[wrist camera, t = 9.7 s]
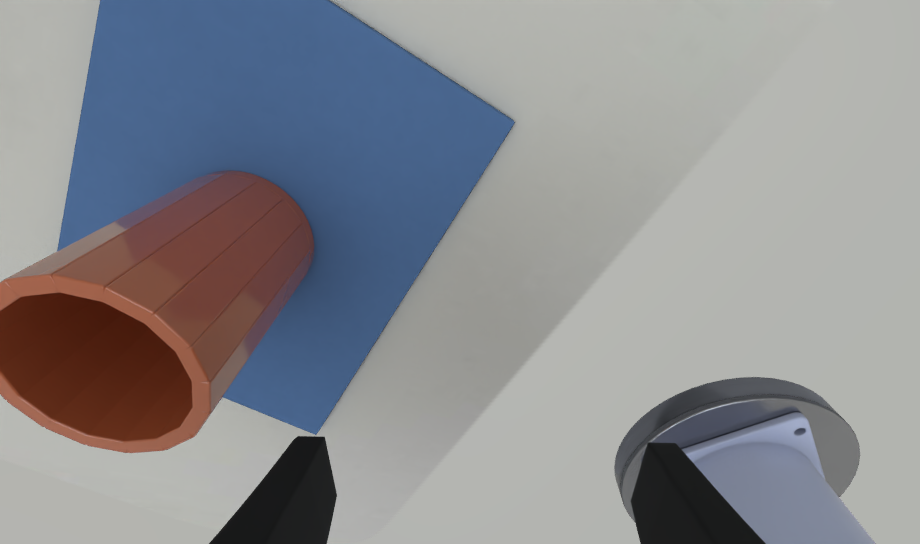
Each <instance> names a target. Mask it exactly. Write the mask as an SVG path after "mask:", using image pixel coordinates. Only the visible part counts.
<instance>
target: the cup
mask: <svg viewBox="0 0 920 544" xmlns="http://www.w3.org/2000/svg"><path fill="white" fill-rule="evenodd" d="M313 256H314V239H313V234H312V230H311V227H310V225H309V222H308V220H307V218H306V216H305V214H304V213H303V211H302V210H301V208H300V207H299V205H298V204H297V203H296V202H295V201H294V200H293V199H292V197H290V196H289V195H288V194H287V193H286V192H285V191H284V190H282V189H281V188H280V187H278V186H277V185H275V184H273V183H272V182H270V181H268V180H266V179H264V178H262V177H260V176H257V175H254V174H250V173H246V172H241V171H231V170H227V171H217V172H212V173H209V174H206V175H204V176H202V177H198V178H196V179H194V180H192V181H190V182H188V183H186V184H184V185H182V186H181V187H179V188H177V189H175V190H173V191H171V192H169V193H167V194H165V195H163V196H162V197H160V198H158V199H156V200H154V201H152V202H150V203H148V204H146V205H145V206H143V207H141V208H139V209H137V210H135V211H133V212H131V213H129V214H127V215H126V216H124V217H122V218H120V219H118V220H116V221H114V222H112V223H110V224H109V225H107V226H105V227H103V228H101V229H99V230H97V231H95V232H93V233H91V234H90V235H88V236H86V237H84V238H82V239H80V240H78V241H76V242H74V243H73V244H71V245H69V246H67V247H65V248H63V249H61V250H59V251H57V252H55V253H54V254H52V255H50V256H48V257H46V258H44V259H42V260H40V261H38V262H37V263H35V264H33V265H31V266H29V267H27V268H25V269H23V270H21V271H20V272H18V273H16V274H14V275H12V276H10V277H8V278H6V279H4V280H3V281H1V282H0V394H1V395H2V397H3V398H4V399H5V400H7V402H8V403H10V404H11V405H12V406H14V407H15V408H17V409H18V410H20V411H21V412H22V413H24V414H25V415H27V416H28V417H29V418H31V419H32V420H34V421H35V422H36V423H38V424H39V425H41V426H42V427H45V428H46V429H48V430H51V431H53V432H55V433H58V434H60V435H63V436H65V437H67V438H70V439H72V440H74V441H77V442H79V443H81V444H84V445H88V446H91V447H97V448H102V449H108V450H113V451H118V452H124V453H139V452H152V451H164V450H168V449H170V448H172V447H174V446H176V445H178V444H180V443H182V442H185V441H187V440H189V439H191V438H193V437H194V436H195V435H197V433H198V432H199V430H200V429H201V427H202V426H203V424H204V423H205V422H206V420H207V419H208V417H209V416H210V414H211V413H212V411H213V410H214V408H215V407H216V405H217V404H218V403H219V401H220V400H221V398H222V397H223V395H224V394H225V392H226V391H227V389H228V388H229V386H230V385H231V384H232V382H233V381H234V379H235V378H236V376H237V375H238V373H239V372H240V370H241V369H242V367H243V366H244V364H245V363H246V362H247V360H248V359H249V357H250V356H251V354H252V353H253V351H254V350H255V348H256V347H257V345H258V344H259V343H260V341H261V340H262V338H263V337H264V335H265V334H266V332H267V331H268V329H269V328H270V326H271V325H272V324H273V322H274V321H275V319H276V318H277V316H278V315H279V313H280V312H281V310H282V309H283V307H284V306H285V305H286V303H287V302H288V300H289V299H290V297H291V296H292V294H293V293H294V291H295V290H296V288H297V287H298V286H299V284H300V283H301V281H302V280H303V278H304V277H305V275H306V274H307V272H308V270H309V269H310V266H311V264H312V261H313Z"/></svg>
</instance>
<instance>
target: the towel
mask: <svg viewBox="0 0 920 544" xmlns="http://www.w3.org/2000/svg"><path fill="white" fill-rule="evenodd" d="M514 123H515V122H514V121H513V120H512V119H511V118H509V117H508V116H506V115H505V114H503V113H502V112H500V111H498V110H497V109H495V108H494V107H492V106H491V105H489V104H488V103H486V102H485V101H483V100H482V99H480V98H479V97H477V96H475V95H474V94H472V93H471V92H469V91H468V90H466V89H465V88H463V87H462V86H460V85H459V84H457V83H455V82H454V81H452V80H451V79H449V78H448V77H446V76H445V75H443V74H442V73H440V72H439V71H437V70H436V69H434V68H432V67H431V66H429V65H428V64H426V63H425V62H423V61H422V60H420V59H419V58H417V57H416V56H414V55H412V54H411V53H409V52H408V51H406V50H405V49H403V48H402V47H400V46H399V45H397V44H396V43H394V42H392V41H391V40H389V39H388V38H386V37H385V36H383V35H382V34H380V33H379V32H377V31H376V30H374V29H373V28H371V27H369V26H368V25H366V24H365V23H363V22H362V21H360V20H359V19H357V18H356V17H354V16H353V15H351V14H349V13H348V12H346V11H345V10H343V9H342V8H340V7H339V6H337V5H336V4H334V3H333V2H331V1H330V0H100V5H99V11H98V17H97V23H96V29H95V34H94V40H93V46H92V52H91V58H90V64H89V69H88V75H87V81H86V87H85V93H84V99H83V104H82V110H81V116H80V122H79V128H78V133H77V139H76V145H75V151H74V157H73V163H72V168H71V174H70V180H69V186H68V192H67V198H66V203H65V209H64V215H63V221H62V227H61V232H60V238H59V244H58V250H57V251H59V250H61V249H63V248H65V247H67V246H69V245H71V244H73V243H74V242H76V241H78V240H80V239H82V238H84V237H86V236H88V235H90V234H91V233H93V232H95V231H97V230H99V229H101V228H103V227H105V226H107V225H109V224H110V223H112V222H114V221H116V220H118V219H120V218H122V217H124V216H126V215H127V214H129V213H131V212H133V211H135V210H137V209H139V208H141V207H143V206H145V205H146V204H148V203H150V202H152V201H154V200H156V199H158V198H160V197H162V196H163V195H165V194H167V193H169V192H171V191H173V190H175V189H177V188H179V187H181V186H182V185H184V184H186V183H188V182H190V181H192V180H194V179H196V178H198V177H202V176H204V175H206V174H209V173H212V172H217V171H227V170H231V171H241V172H246V173H250V174H254V175H257V176H260V177H262V178H264V179H266V180H268V181H270V182H272V183H273V184H275V185H277V186H278V187H280V188H281V189H282V190H284V191H285V192H286V193H287V194H288V195H289V196H290V197H292V199H293V200H294V201H295V202H296V203H297V204H298V205H299V207H300V208H301V210H302V211H303V213H304V214H305V216H306V218H307V220H308V222H309V225H310V227H311V230H312V234H313V239H314V256H313V261H312V264H311V266H310V269H309V270H308V272H307V274H306V275H305V277H304V278H303V280H302V281H301V283H300V284H299V286H298V287H297V288H296V290H295V291H294V293H293V294H292V296H291V297H290V299H289V300H288V302H287V303H286V305H285V306H284V307H283V309H282V310H281V312H280V313H279V315H278V316H277V318H276V319H275V321H274V322H273V324H272V325H271V326H270V328H269V329H268V331H267V332H266V334H265V335H264V337H263V338H262V340H261V341H260V343H259V344H258V345H257V347H256V348H255V350H254V351H253V353H252V354H251V356H250V357H249V359H248V360H247V362H246V363H245V364H244V366H243V367H242V369H241V370H240V372H239V373H238V375H237V376H236V378H235V379H234V381H233V382H232V384H231V385H230V386H229V388H228V389H227V391H226V392H225V394H224V395H223V397H224V398H226V399H229V400H231V401H234V402H236V403H239V404H241V405H244V406H246V407H248V408H251V409H253V410H256V411H258V412H261V413H263V414H266V415H268V416H271V417H273V418H276V419H278V420H281V421H283V422H286V423H288V424H291V425H293V426H295V427H298V428H300V429H303V430H305V431H308V432H310V433H313V434H315V435H316V434H317V433H318V431H319V430H320V428H321V427H322V425H323V423H324V422H325V420H326V419H327V417H328V416H329V414H330V412H331V411H332V409H333V408H334V406H335V405H336V403H337V401H338V400H339V398H340V397H341V395H342V394H343V392H344V390H345V389H346V387H347V386H348V384H349V383H350V381H351V379H352V378H353V376H354V375H355V373H356V372H357V370H358V368H359V367H360V365H361V364H362V362H363V361H364V359H365V357H366V356H367V354H368V353H369V351H370V350H371V348H372V346H373V345H374V343H375V342H376V340H377V339H378V337H379V335H380V334H381V332H382V331H383V329H384V328H385V326H386V324H387V323H388V321H389V320H390V318H391V317H392V315H393V313H394V312H395V310H396V309H397V307H398V306H399V304H400V302H401V301H402V299H403V298H404V296H405V295H406V293H407V291H408V290H409V288H410V287H411V285H412V284H413V282H414V280H415V279H416V277H417V276H418V274H419V273H420V271H421V269H422V268H423V266H424V265H425V263H426V262H427V260H428V258H429V257H430V255H431V254H432V252H433V251H434V249H435V247H436V246H437V244H438V243H439V241H440V240H441V238H442V236H443V235H444V233H445V232H446V230H447V229H448V227H449V225H450V224H451V222H452V221H453V219H454V218H455V216H456V214H457V213H458V211H459V210H460V208H461V207H462V205H463V203H464V202H465V200H466V199H467V197H468V196H469V194H470V192H471V191H472V189H473V188H474V186H475V185H476V183H477V181H478V180H479V178H480V177H481V175H482V174H483V172H484V170H485V169H486V167H487V166H488V164H489V163H490V161H491V159H492V158H493V156H494V155H495V153H496V152H497V150H498V148H499V147H500V145H501V144H502V142H503V141H504V139H505V137H506V136H507V134H508V133H509V131H510V130H511V128H512V126H513V125H514Z"/></svg>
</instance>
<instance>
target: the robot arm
mask: <svg viewBox="0 0 920 544" xmlns="http://www.w3.org/2000/svg"><path fill="white" fill-rule="evenodd" d="M336 497H337V494H336V489H335V484H334V479H333V475H332V470H331V465H330V460H329V455H328V451H327V446H326V441H325V437H306V436H298V437H297V438H295V439H294V440H293V441H292V443H291V444H290V445H289V447H288V448H287V449H286V451H285V452H284V453H283V454H282V456H281V457H280V458H279V460H278V461H277V462H276V463H275V465H274V466H273V467H272V469H271V470H270V471H269V472H268V474H267V475H266V476H265V477H264V479H263V480H262V481H261V482H260V484H259V485H258V486H257V487H256V489H255V490H254V491H253V492H252V494H251V495H250V496H249V497H248V499H247V500H246V501H245V502H244V503H243V504H242V506H241V507H240V508H239V509H238V510H237V512H236V513H235V514H234V515H233V516H232V518H231V519H230V520H229V521H228V522H227V524H226V525H225V526H224V527H223V528H222V529H221V531H220V532H219V533H218V534H217V535H216V536H215V538H214V539H213V540H212V541H211V542H210V543H209V544H327V540H328V535H329V531H330V526H331V522H332V517H333V512H334V507H335V502H336ZM631 505H632V509H633V514H634V518H635V522H636V527H637V531H638V534H639V538H640V542H641V544H876V543H875V542H874V541H873V540H872V539H871V537H870V536H869V535H868V534H867V532H866V531H865V530H864V528H863V527H862V526H861V525H860V524H859V522H858V521H857V520H856V518H855V517H854V516H853V515H852V513H851V512H850V511H849V510H848V508H847V507H846V506H845V504H844V503H843V502H842V501H841V499H840V498H839V497H838V496H837V494H836V493H835V492H834V490H833V489H832V488H831V487H830V485H829V484H828V483H827V482H826V480H825V477H824V473H823V470H822V466H821V463H820V459H819V456H818V453H817V449H816V446H815V442H814V439H813V435H812V432H811V428H810V425H809V421H808V420H807V418H806V417H805V416H804V415H803V414H802V413H798V412H794V413H790V414H787V415H784V416H781V417H778V418H774V419H771V420H768V421H765V422H762V423H759V424H756V425H753V426H750V427H747V428H744V429H741V430H738V431H735V432H732V433H729V434H726V435H723V436H720V437H717V438H714V439H711V440H708V441H705V442H702V443H699V444H696V445H693V446H690V447H687V448H684V449H681V448H680V447H679V446H678V445H677V444H676V443H651V442H648V443H647V446H646V450H645V453H644V457H643V460H642V464H641V467H640V470H639V474H638V477H637V481H636V484H635V488H634V491H633V495H632V498H631Z"/></svg>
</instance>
